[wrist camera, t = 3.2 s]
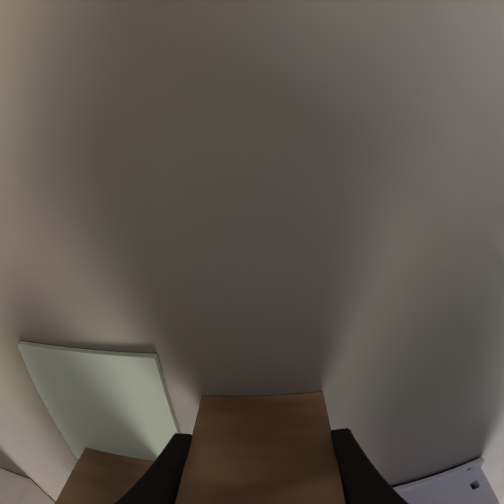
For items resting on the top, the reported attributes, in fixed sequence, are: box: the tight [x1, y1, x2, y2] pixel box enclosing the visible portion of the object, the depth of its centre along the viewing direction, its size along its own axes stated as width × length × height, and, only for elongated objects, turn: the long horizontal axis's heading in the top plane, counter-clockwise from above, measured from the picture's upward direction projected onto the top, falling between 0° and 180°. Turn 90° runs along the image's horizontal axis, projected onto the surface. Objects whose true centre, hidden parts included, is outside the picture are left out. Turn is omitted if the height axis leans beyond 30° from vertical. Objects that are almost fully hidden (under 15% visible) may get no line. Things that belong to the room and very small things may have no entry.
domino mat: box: [17, 341, 181, 461], centre depth 15 cm, size 8×26×1 cm, turn 4°
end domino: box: [175, 392, 345, 504], centre depth 8 cm, size 5×2×9 cm, turn 94°
